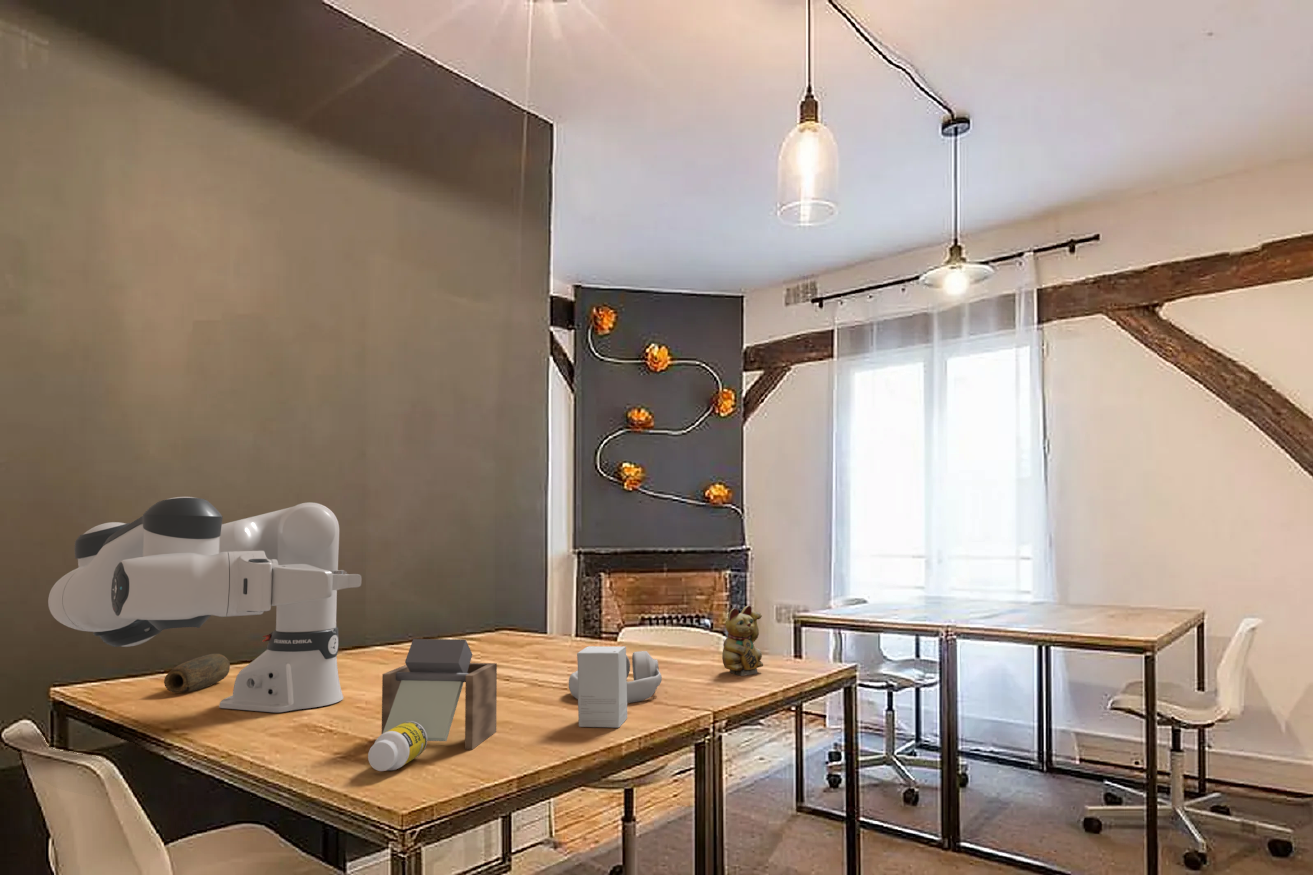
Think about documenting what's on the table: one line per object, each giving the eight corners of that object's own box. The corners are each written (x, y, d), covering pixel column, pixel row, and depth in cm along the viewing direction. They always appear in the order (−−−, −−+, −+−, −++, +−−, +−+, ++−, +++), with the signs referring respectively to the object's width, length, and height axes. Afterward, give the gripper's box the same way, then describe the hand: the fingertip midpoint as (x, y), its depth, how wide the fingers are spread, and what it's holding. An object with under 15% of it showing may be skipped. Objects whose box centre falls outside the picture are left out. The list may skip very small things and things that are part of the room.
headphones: (594, 679, 185) (557, 713, 166) (592, 643, 185) (554, 673, 166) (675, 683, 180) (647, 718, 161) (673, 646, 180) (644, 677, 161)
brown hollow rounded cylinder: (201, 682, 191) (202, 651, 191) (231, 682, 191) (232, 651, 191) (159, 696, 176) (161, 663, 176) (193, 696, 176) (194, 663, 176)
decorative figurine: (738, 678, 187) (737, 608, 189) (712, 673, 194) (711, 606, 195) (768, 672, 194) (766, 605, 195) (741, 667, 200) (740, 602, 201)
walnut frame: (411, 729, 146) (412, 662, 147) (496, 731, 143) (496, 663, 144) (381, 746, 135) (382, 674, 136) (472, 749, 132) (472, 675, 133)
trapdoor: (413, 653, 143) (405, 638, 140) (480, 654, 141) (473, 639, 139) (381, 743, 131) (371, 729, 129) (454, 745, 130) (446, 731, 127)
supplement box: (628, 718, 152) (627, 645, 153) (619, 728, 144) (618, 652, 145) (588, 717, 153) (587, 645, 154) (576, 727, 146) (576, 651, 147)
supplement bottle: (435, 733, 128) (406, 752, 119) (416, 764, 129) (386, 785, 119) (406, 712, 129) (375, 729, 120) (388, 743, 129) (355, 762, 120)
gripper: (241, 599, 128) (338, 594, 135) (258, 613, 110) (368, 606, 117) (242, 556, 128) (339, 553, 135) (259, 563, 111) (369, 559, 118)
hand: (353, 578), depth 126 cm, fingers open, 8 cm apart
